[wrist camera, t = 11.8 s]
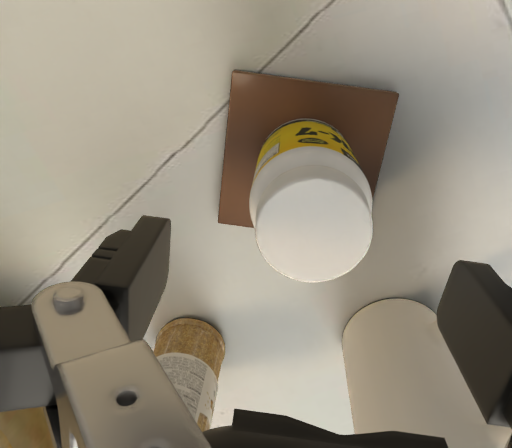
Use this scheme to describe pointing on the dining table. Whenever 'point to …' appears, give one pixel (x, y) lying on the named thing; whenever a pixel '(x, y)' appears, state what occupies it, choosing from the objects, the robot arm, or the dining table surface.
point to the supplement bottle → (310, 202)
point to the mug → (410, 378)
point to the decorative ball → (24, 429)
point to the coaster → (291, 108)
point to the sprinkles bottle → (192, 364)
